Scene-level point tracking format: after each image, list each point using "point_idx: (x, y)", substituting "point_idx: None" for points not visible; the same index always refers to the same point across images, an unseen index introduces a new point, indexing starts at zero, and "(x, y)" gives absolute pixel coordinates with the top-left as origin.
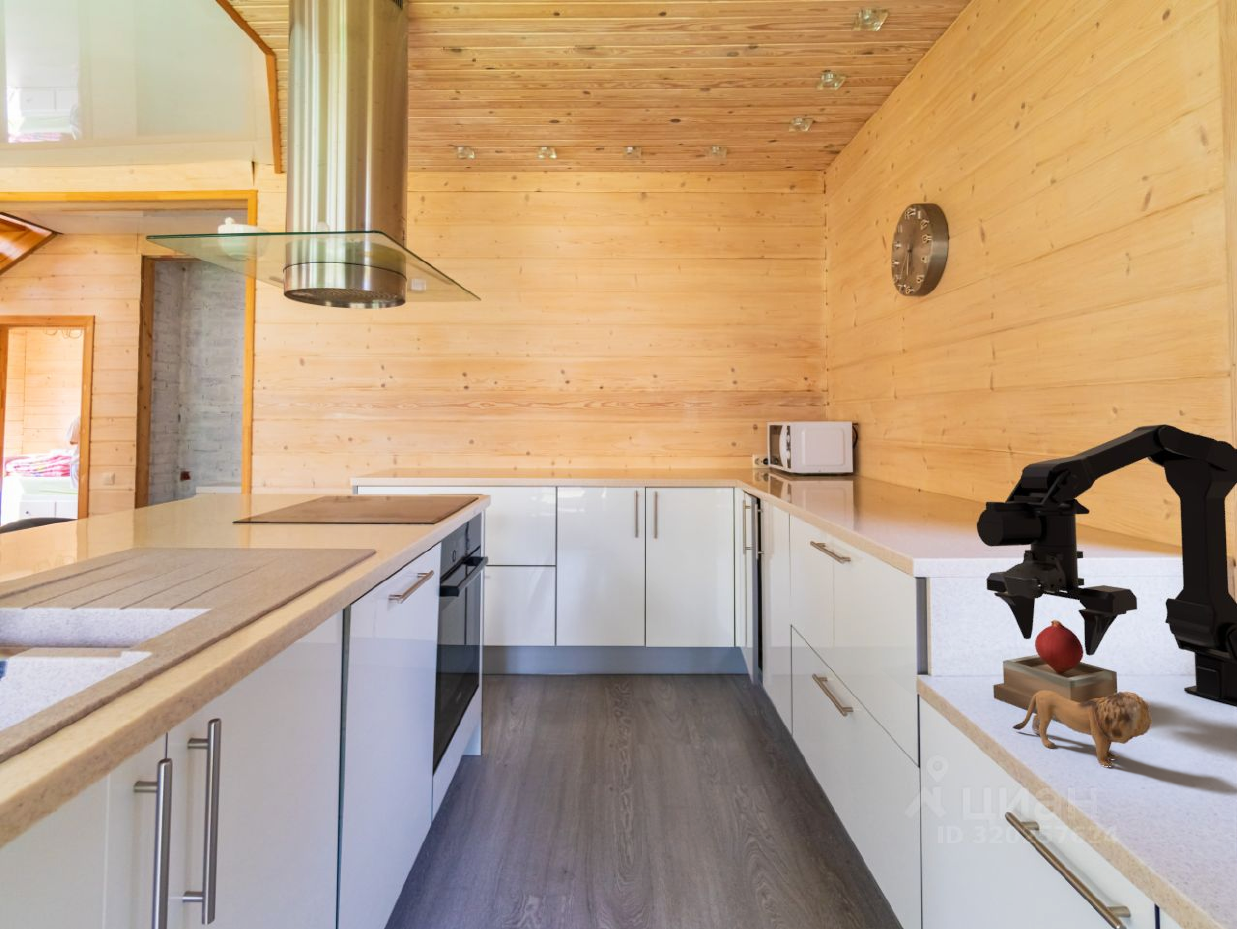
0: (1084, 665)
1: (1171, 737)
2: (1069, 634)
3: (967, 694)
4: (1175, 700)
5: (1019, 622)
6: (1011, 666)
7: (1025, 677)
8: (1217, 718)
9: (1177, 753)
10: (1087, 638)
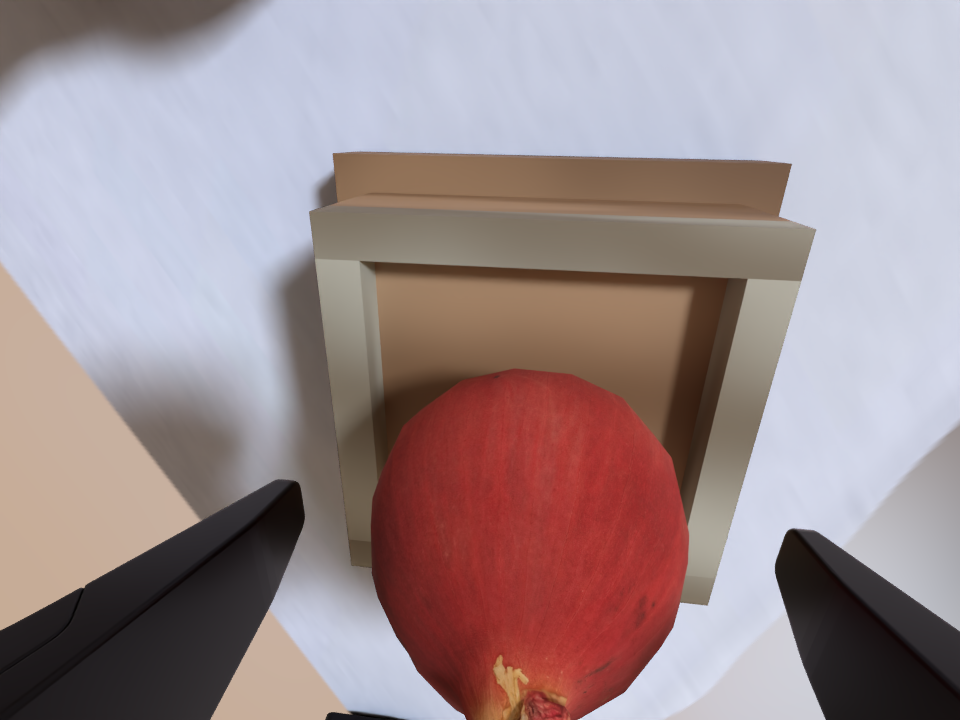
0: None
1: (216, 382)
2: (401, 619)
3: (889, 65)
4: (411, 660)
5: (951, 648)
6: (732, 224)
7: (614, 212)
8: (289, 612)
9: (115, 266)
10: (174, 561)
